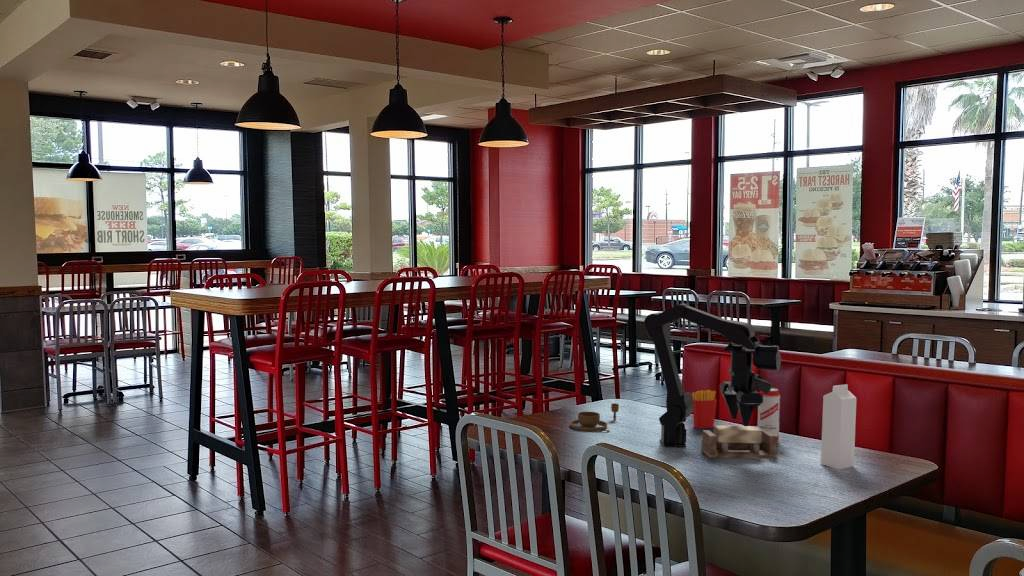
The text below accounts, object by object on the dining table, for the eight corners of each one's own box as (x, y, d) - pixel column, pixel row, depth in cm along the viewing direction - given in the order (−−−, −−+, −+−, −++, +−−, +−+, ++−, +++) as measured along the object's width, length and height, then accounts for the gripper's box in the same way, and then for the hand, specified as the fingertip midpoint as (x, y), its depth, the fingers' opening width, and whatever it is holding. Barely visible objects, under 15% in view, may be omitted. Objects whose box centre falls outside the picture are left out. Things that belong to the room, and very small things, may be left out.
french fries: (710, 424, 262) (711, 388, 261) (717, 427, 258) (718, 390, 257) (688, 426, 259) (689, 389, 258) (695, 428, 255) (696, 391, 254)
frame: (709, 457, 221) (710, 436, 221) (701, 450, 229) (701, 429, 229) (776, 457, 222) (777, 436, 222) (765, 450, 230) (766, 429, 230)
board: (718, 442, 223) (718, 429, 223) (714, 437, 228) (714, 425, 228) (761, 443, 223) (761, 430, 223) (756, 438, 228) (756, 426, 228)
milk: (853, 467, 214) (858, 386, 213) (838, 470, 211) (842, 387, 210) (834, 461, 219) (838, 382, 218) (819, 464, 216) (823, 383, 215)
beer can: (779, 444, 237) (781, 391, 236) (758, 443, 238) (759, 390, 237) (777, 439, 243) (779, 387, 242) (755, 438, 244) (757, 386, 243)
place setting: (560, 423, 263) (561, 405, 262) (615, 420, 269) (616, 402, 269) (582, 436, 246) (582, 417, 246) (640, 432, 252) (640, 413, 252)
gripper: (782, 373, 215) (781, 430, 216) (757, 362, 234) (755, 415, 235) (742, 373, 215) (740, 430, 216) (719, 362, 233) (718, 415, 234)
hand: (740, 422), depth 225 cm, fingers open, 9 cm apart
